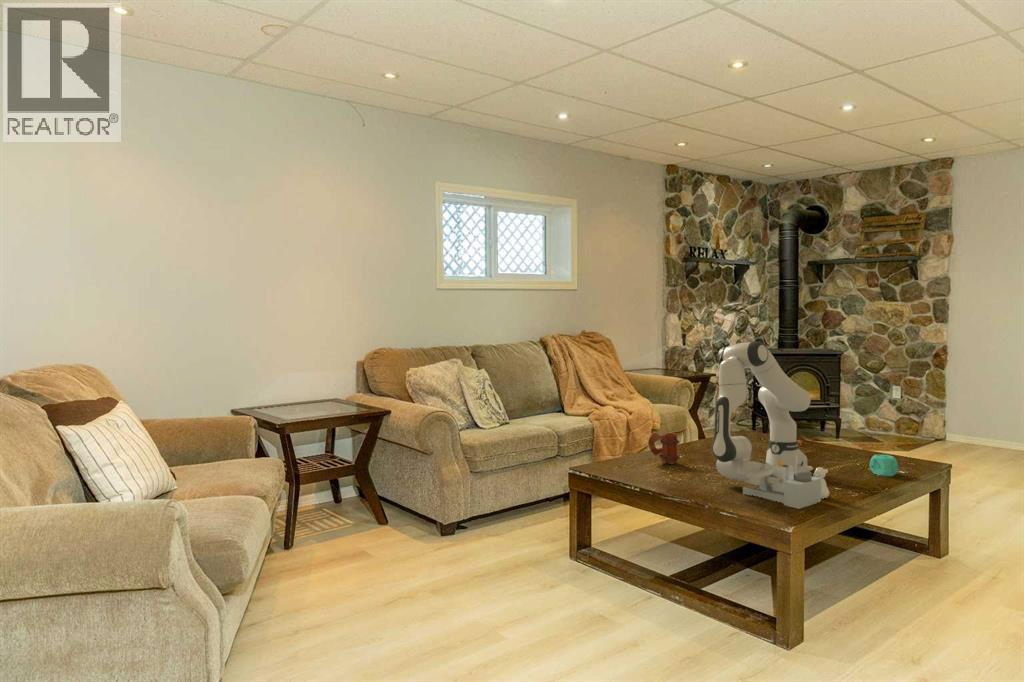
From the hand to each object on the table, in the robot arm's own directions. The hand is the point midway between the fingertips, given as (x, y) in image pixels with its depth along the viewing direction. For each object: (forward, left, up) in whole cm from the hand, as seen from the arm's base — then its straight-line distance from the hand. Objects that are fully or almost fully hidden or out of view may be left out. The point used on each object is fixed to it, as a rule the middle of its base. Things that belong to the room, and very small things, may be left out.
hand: (784, 479), depth 262 cm
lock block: (0, -1, -6) cm, 7 cm away
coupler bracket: (0, -2, -7) cm, 8 cm away
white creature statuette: (-13, +6, -8) cm, 16 cm away
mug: (-8, -68, -8) cm, 69 cm away
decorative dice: (-68, +5, -8) cm, 69 cm away
